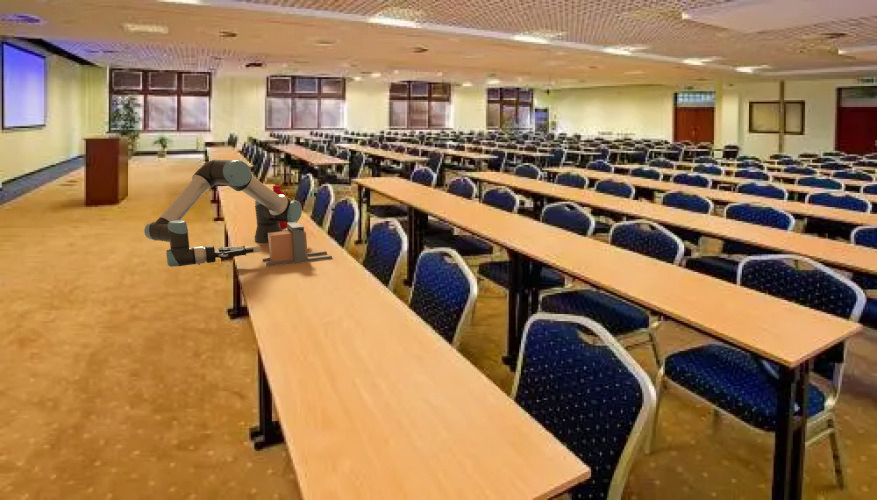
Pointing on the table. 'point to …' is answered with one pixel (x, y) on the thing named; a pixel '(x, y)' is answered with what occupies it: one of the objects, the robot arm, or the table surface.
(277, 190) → the water bottle
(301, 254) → the grey stand
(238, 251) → the robot arm
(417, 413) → the table surface
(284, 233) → the brick
